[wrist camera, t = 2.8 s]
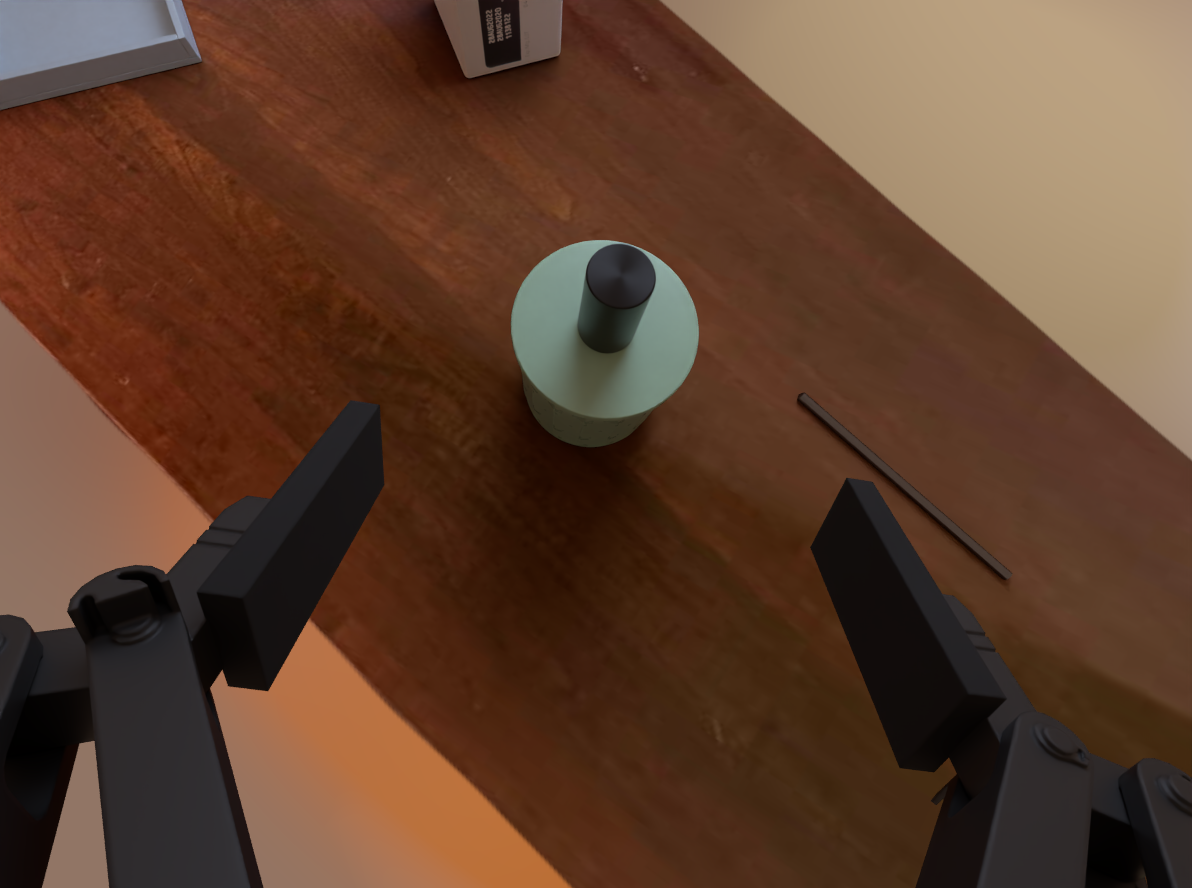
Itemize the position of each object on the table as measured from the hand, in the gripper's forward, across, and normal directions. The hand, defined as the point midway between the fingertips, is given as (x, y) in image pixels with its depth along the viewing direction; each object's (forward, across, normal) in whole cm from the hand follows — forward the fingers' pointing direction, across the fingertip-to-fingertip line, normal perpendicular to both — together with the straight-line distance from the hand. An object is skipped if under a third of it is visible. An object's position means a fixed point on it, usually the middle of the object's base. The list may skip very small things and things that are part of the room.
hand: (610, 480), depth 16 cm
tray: (+37, -40, +7) cm, 55 cm away
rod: (+20, +23, -11) cm, 32 cm away
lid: (+15, 0, -2) cm, 15 cm away
